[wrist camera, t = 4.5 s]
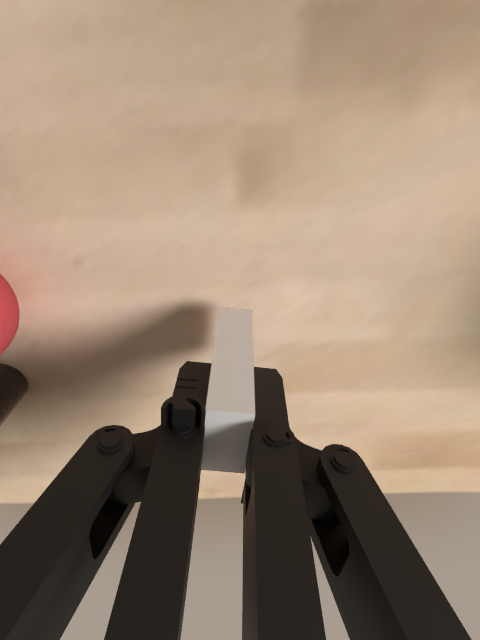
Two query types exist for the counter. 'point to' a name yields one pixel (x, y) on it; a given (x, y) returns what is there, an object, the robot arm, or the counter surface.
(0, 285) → the ball
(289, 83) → the counter surface
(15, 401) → the post
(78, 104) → the counter surface
